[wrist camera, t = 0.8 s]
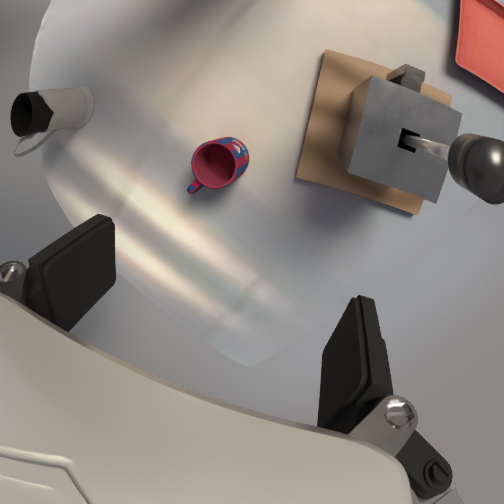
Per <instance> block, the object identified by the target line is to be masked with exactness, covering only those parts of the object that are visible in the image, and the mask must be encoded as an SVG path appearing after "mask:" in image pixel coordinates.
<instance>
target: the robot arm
mask: <svg viewBox="0 0 504 504" xmlns="http://www.w3.org/2000/svg"><path fill="white" fill-rule="evenodd" d="M28 261H29V265H30V267H29V268H28V269H26V266H25V264H23V263H22V262H19V261H9V262H6V263H3V264H2V265H0V504H464V503H463V501H462V499H461V498H460V496H459V494H458V492H457V490H456V488H453V489H451V487H450V484H451V482H452V470H451V467H450V465H449V464H448V462H447V461H446V460H445V459H444V458H443V457H442V456H441V455H440V454H439V453H438V452H437V451H436V450H435V449H434V448H433V447H432V446H431V445H430V444H429V443H428V442H427V441H426V440H425V439H424V438H423V437H422V436H421V435H420V434H419V433H418V432H417V431H416V430H415V429H416V427H417V425H418V414H417V411H416V409H415V407H414V406H413V405H412V403H411V402H410V401H408V400H407V399H405V398H404V397H401V396H398V395H393V388H392V381H391V374H390V368H389V362H388V356H387V350H386V344H385V341H384V339H382V337H381V332H380V327H379V321H378V316H377V312H376V307H375V302H374V300H373V299H371V298H367V297H364V296H361V295H358V296H357V298H354V297H353V298H352V299H351V300H350V302H349V304H348V306H347V308H346V310H345V312H344V313H343V316H342V317H341V319H340V321H339V323H338V325H337V327H336V328H335V330H334V332H333V334H332V336H331V337H330V339H329V341H328V343H327V345H326V346H325V348H324V351H323V354H322V368H321V384H320V398H319V410H318V421H317V427H316V426H312V425H308V424H303V423H299V422H295V421H291V420H287V419H283V418H279V417H276V416H272V415H268V414H265V413H261V412H257V411H254V410H251V409H247V408H244V407H240V406H237V405H234V404H231V403H228V402H225V401H222V400H219V399H215V398H213V397H210V396H207V395H204V394H201V393H199V392H196V391H193V390H190V389H188V388H185V387H183V386H180V385H177V384H175V383H172V382H169V381H167V380H165V379H162V378H160V377H158V376H155V375H153V374H151V373H148V372H146V371H143V370H142V369H139V368H137V367H135V366H132V365H131V364H128V363H126V362H124V361H122V360H120V359H118V358H116V357H114V356H112V355H110V354H108V353H106V352H104V351H102V350H100V349H98V348H96V347H94V346H92V345H90V344H88V343H86V342H85V341H83V340H81V339H79V338H77V337H76V336H74V335H72V334H70V333H68V332H69V331H70V330H71V329H72V328H73V327H74V326H75V324H76V323H77V322H78V321H79V320H80V319H81V318H82V317H83V316H84V315H85V314H86V313H87V312H88V311H89V310H90V309H91V308H92V307H93V305H94V304H95V303H96V302H97V301H98V300H99V299H100V298H101V297H102V296H103V295H104V294H105V293H106V292H107V291H108V290H109V289H110V288H111V287H112V286H113V285H114V283H115V280H116V266H115V224H114V223H113V222H112V219H111V218H110V217H107V216H104V215H101V214H97V215H95V216H93V217H92V218H90V219H89V220H87V221H85V222H84V223H82V224H80V225H79V226H77V227H76V228H74V229H73V230H71V231H70V232H68V233H67V234H65V235H63V236H62V237H60V238H59V239H57V240H56V241H54V242H53V243H51V244H50V245H48V246H47V247H46V248H44V249H43V250H41V251H40V252H38V253H37V254H36V255H34V256H33V257H31V258H30V259H29V260H28Z"/></svg>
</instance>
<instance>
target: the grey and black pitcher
mask: <svg viewBox="0 0 504 504" xmlns="http://www.w3.org/2000/svg"><path fill="white" fill-rule="evenodd" d="M93 110H94V97H93V94H92V92H91V90H90V89H89V88H87V87H86V86H78V87H76V88H66V89H49V90H37V91H36V92H27V93H21V94H19V95H18V96H17V97H16V99H15V101H14V103H13V105H12V109H11V126H12V129H13V131H14V133H15V134H16V135H17V136H19V137H23V136H25V137H23V138H21V139H20V140H18V141H17V143H16V144H15V145H14V148H13V154H14V155H15V156H16V157H20V156H24V155H26V154H28V153H30V152H32V151H34V150H35V149H37V148H38V147H40V146H41V145H42V144H43V143H44V142H45V141H46V140H47V139H48V138H49V137H50V136H51V135H52V134H53V133H54V132H55V131H57V130H58V129H63V128H68V127H75V128H80V127H83V126H84V125H86V124H87V123H88V121H89V120H90V118H91V116H92V114H93ZM48 131H51V132H50V133H49V134H48V135H47V136H46V137H45V138H44V139H43V140H42V141H41V142H40V143H38V144H37V145H36V146H34V147H33V148H31V149H29V150H27V151H25V152H23V153H20V154H15V150H16V148H17V146H18V145H19V144H20V143H21V142H22V141H24V140H26V139H29V138H32V137H33V136H34V135H35V134H36V133H39V132H40V133H44V132H48ZM27 135H28V136H27Z"/></svg>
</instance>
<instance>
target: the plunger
mask: <svg viewBox="0 0 504 504" xmlns="http://www.w3.org/2000/svg"><path fill="white" fill-rule="evenodd" d="M417 135H418V134H416V133H414V132H411V131H409V130H406V129H404V128H402V130H401V134H400V138H399V141H398V145H397V147H400V148H402V149H405V150H407V151H410V152H412V153H413V150H414V148H416V149H419V150H422V151H425V152H427V153H430V154H432V155H435V156H438V157H440V158H443V159H445V160H447V161H448V167H449V171H450V174H451V176H452V178H453V179H454V180H455V182H456V183H457V184H459V185H460V186H461V187H463V188H465V189H466V190H468V191H470V192H471V193H473V194H475V195H476V196H478V197H479V198H481V199H482V200H484V201H486V202H487V203H490V204H501V203H503V202H504V142H503V141H501V140H498V139H494V138H489V137H485V136H480V135H475V134H463V135H460V136H459V137H457V138H456V139H455V140H454V141H453V143H452V144H451V146H447V145H444V144H440V143H437V142H433V141H429V140H425V139H422V138H418V137H417Z"/></svg>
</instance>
